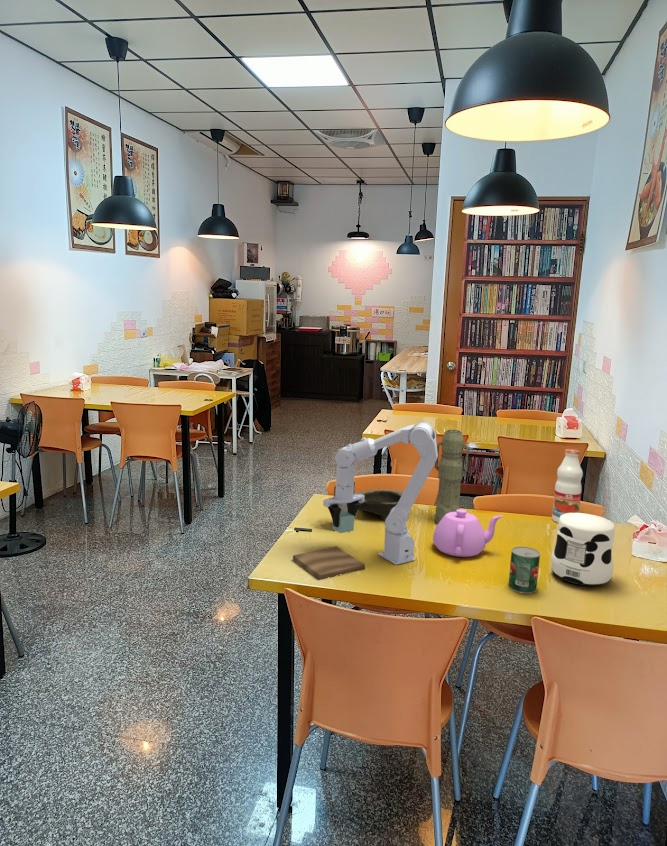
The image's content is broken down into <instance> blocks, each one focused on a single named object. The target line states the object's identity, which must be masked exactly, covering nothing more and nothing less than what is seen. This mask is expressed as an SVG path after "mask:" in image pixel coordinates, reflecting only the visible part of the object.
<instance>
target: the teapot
mask: <svg viewBox="0 0 667 846" xmlns="http://www.w3.org/2000/svg"><path fill="white" fill-rule="evenodd" d="M503 516H504V515H502V514H501V515H500V514H499V515H495V516H493V517H492V518H491V519H490V520H489V526H488V528H487V529H486V530H485V531H484V529H483V527H482V524H481V522H480V521H479V519H478V518H477V516H476V515H475V514H472V513H469V512H468V511H467V510H466V509H464V508H460V509H457V510H456V512H449V513H447V514H446V515H445V516H444V517H443V518H442V519H441V521H440V522H439V523H438V524H436V527H435V529H434V531H433V535H432V541H433V544H434V545H435V547H436V548H437V550H439V551H440V552H441V553H444V554H445V555H450V556H454V557H461V558H466V557H467V558H469V557H474V556H477V555H479V554H480V553H481V552H482V551H483V550H484V549H485V548H486V545H487V544H488V543H490V542H491V541H492V540H493V537H494V536H495V530H496V524H497V522H498V520H499V519H501V518H503Z"/></svg>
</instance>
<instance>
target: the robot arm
mask: <svg viewBox="0 0 667 846" xmlns="http://www.w3.org/2000/svg"><path fill="white" fill-rule="evenodd" d="M397 443H403V444H407V445H409V444H412V446H413V447H414V448H415V449H416V450H417V452H418V454H419V457H420V459H419V461H418V463H417V465H416V467H415V469H414V471H413V472H412V475H411V477H410V478H409V481H408V483H407V485H406V486H405V488H404V490H403V491H404V492H403V494H402V496H401V498H400V500H399V502H398V503H397V505H396V506H395V507H393V508H392V509H391V511H390V514H389V515H388V516H387V518H386V520H384V526H385V527H384V544H383V545H384V546H383V547H384V548H383V551H380V552H378V556H380V557H382V558H384V559H385V560H386V561H388V562H391V563H392V564H394V565H395V566H396V565H400V564H401V565H402V564H404V563H410V562H413V561H415V560H416V557H414V555H415V554H414V552H415V540H414V538H413V537H412V536H411V535H410V534H409V528H408V526H407V522H408V521H409V519H410V511H411V510H412V508H413V506H414V504H415V502H416V500H417V498H418V496H419V495H420V492H421V490H422V488H423V487H424V484H425V483H426V481H427V479H428V478H429V475H430V474H431V472H432V469H434V467H435V462H436V460H437V458H438V459H439V456H438V452H437V444H438V443H437V434H436V432H435V430H434V427H433V426H432V424H430V423H428V422H426V421H420V422H418V423H417V424H416V425H415V424H410V425H407V426H404V427H401V428H399V429H396V430H395V431H392V432H390V433H387V434H385V435H383V436H380V437H379V438H376V439H373V438H371V437H367V438H366V437H362V438H361V439H360V441H358V442H355V443H349V444H347V446H342V448H341V449H339V450H338V451H337V452H336V453H335V457H334V460H335V461H334V462H335V463H336V475H335V486H336V496H335V497H334V496H332V497H330V498H327V499H323V500H322V501H323V502H322V503H323V504H322V507H323V506H324V507H325V508H328V512H329V513H330V516H331V521H332V523H333V526H335V527H339V517H340V512H341V508H339V506H338V505H339V504H345V503H347V509H348V513H350V514H352V515H354V520H355V518H356V516H357V513H358V512H359V510H360V507H361V503H359V501H364V498H365V496H364V495H362V494H356V495H353V491H354V482H355V462H357V463H358V462H361V461H364V460H366V459H369V458H371V457H374V456H376V455H377V453H378V450H380V449H383V448H387V447H389V446H392V445H395V444H397Z"/></svg>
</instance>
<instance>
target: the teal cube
mask: <svg viewBox="0 0 667 846" xmlns="http://www.w3.org/2000/svg"><path fill="white" fill-rule="evenodd" d="M331 523H332V524H331V525H332V526H331V527H332V530H333V529H335V530H336V531H335V532H338V533H340V534H342V533H350V532H354V529H355V528H354V526H355V519H354V515H352V514H350V513H348V512H346V511H344V512H340V517H339V527H335V526H333V522H331ZM349 531H350V532H349Z"/></svg>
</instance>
